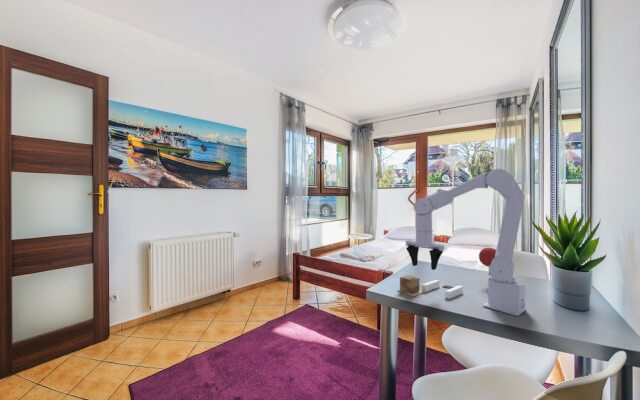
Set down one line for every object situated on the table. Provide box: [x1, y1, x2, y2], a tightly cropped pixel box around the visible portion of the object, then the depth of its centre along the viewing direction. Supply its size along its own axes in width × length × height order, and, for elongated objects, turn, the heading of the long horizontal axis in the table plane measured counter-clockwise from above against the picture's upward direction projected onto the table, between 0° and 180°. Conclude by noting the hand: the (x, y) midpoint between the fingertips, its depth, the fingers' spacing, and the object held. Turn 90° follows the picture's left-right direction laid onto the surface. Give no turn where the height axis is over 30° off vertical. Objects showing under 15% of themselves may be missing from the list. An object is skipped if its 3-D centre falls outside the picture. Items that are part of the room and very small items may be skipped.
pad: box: [396, 288, 425, 297], centre depth 100 cm, size 7×7×1 cm
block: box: [399, 274, 420, 294], centre depth 100 cm, size 5×5×5 cm
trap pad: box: [442, 284, 455, 290], centre depth 104 cm, size 6×3×1 cm, turn 38°
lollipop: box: [478, 247, 497, 276], centre depth 110 cm, size 8×8×15 cm
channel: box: [421, 279, 464, 300], centre depth 100 cm, size 10×10×2 cm
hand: (424, 267), depth 100 cm, fingers open, 7 cm apart
